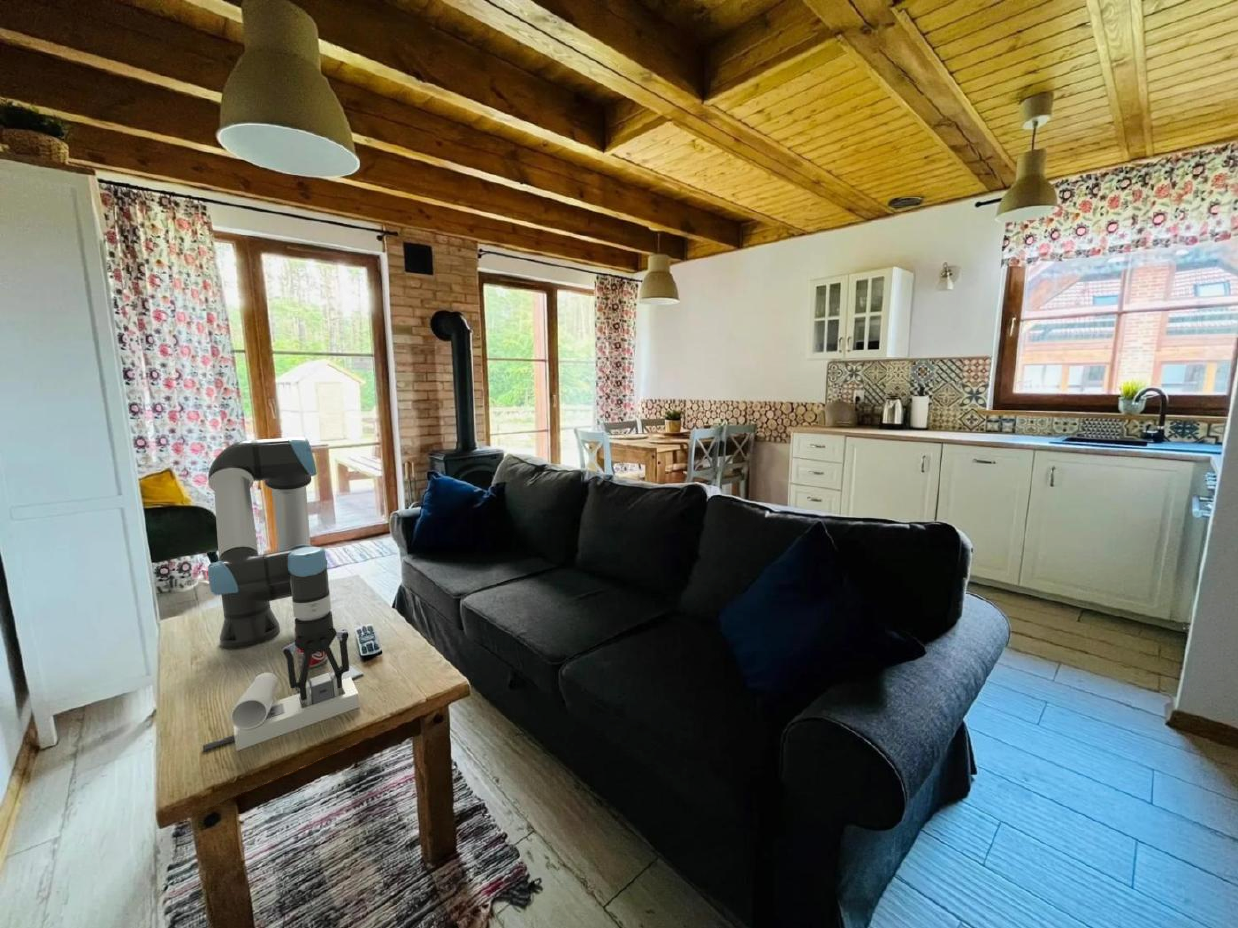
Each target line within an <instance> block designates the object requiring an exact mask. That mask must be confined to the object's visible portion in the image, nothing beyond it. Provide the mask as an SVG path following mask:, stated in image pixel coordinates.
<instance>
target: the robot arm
mask: <svg viewBox="0 0 1238 928" xmlns="http://www.w3.org/2000/svg"><path fill="white" fill-rule="evenodd" d="M317 473H318V471H317V467H316V462H315V458H314V455H313V450H312V448H311V444H310V441H309V440H308V439H307V438H306V437H303V436H302V437H292V436H289V437H279V438H277V437H276V438H265V439H263V438H262V439H245V440H241V441H236V442H234V443H233V444H231V445H229V446H228V447H226V448H224V449H223V450H222V451H221V452H220V453H219V454H218V455H216V457H215V459H214V460H213V461H212V463H211V465H210V467H209V470H208V476H207V477H208V478H207V479H208V486H209V488H210V489H211V490H212V491H213V492H214V506H215V507H214V509H215V521H216V537H217V547H218V548H217V551H218V560H217V561H216V562H211V563H209V565H208V567H207V568H208V569H207V573H208V575H207V576H208V577H207V578H208V584H209V589H210V592H211V594H213V595H216V596H219V595H220V597H221V602H222V603H221V604H222V610H223V611H222V612H223V618H224V619H223V622H222V623H223V624H222V627H221V630H220V631H221V632H220V635H219V644H220V647H221V648H224V649H229V650H236V649H237V650H238V649H245V648H249V647H254V646H258V645H259V644H263V643H266V642H267V641H269V640H270V641H271V640H272V639H273V638H275V637H276V636H278V634H280V632H281V629H280V623H279V621H278V619H277V617H276V616H275V614H274V612H273V610H272V609H271V608H272V607H271V602H272V601H277V600H281V599H288V598H291V599H292V609H293V617H294V618H295V619H294V629H295V628H296V638H295V637H294V641H293V642H291V643H290V644H289V645H283V646H282V648H281V649H282V653H283V655H284V656H285V658H286V664H287V667H286V668H287V674H288V682H289V687H290V689H292V690H293V689H296V688H299V689H300V697H301V700H302V701H303V700H307V707H308V706H311V705H312V702H311V693H310V686H309V683H308V682H309V681H307V680H308V676H309V670H310V668H309V666H310V660H311V657H312V654H315V653H317V652H323V651H325V653H326V655H327V657H328V658H327V660H328V662H329V664H330V666H331V668H332V670H333V672H334V674H331V679H332V682H333V691H334V698H335V697H338V689H339V688H342V674H343V673H344V672H348V671H349V665H350V663H349V661H350V660H349V652H348V643H347V642H348V640H349V636H350V635H349V633H348V632H349V631H347V629H345V628H344V629H342V630H336V628H335V627H334V620H333V619H334V618H333V612H332V601H331V593H330V592H331V591H330V587H329V574H328V573H329V571H328V560H327V555H326V551H325V549H323V548H322V547H320V546H319V547H318V546H313V545H311V536H310V520H309V510H308V497H307V495H308V494H307V486H309V485H310V484H311V482H312V477H315V476H316V475H317ZM260 481H264V485H265V486H266V488H268V489H270V490H271V493H272V502H273V503H272V504H273V513H274V523H275V531H276V541H277V550H278V551H275V552H268V553H263V554H259V551H258V549H259V548H258V540H257V533H256V532H257V531H256V526H255V517H254V508H253V501H252V492H251V488H252V487H253V485H254V483H255V482H260ZM335 638H337V641H339V642H338V643H339V651H340V658H341V666H339V665H338V662H337V661H336V658H335V656H334V654H333V651H332V649H331V647H330V646H331V645H332V643H333V641H334V640H335ZM297 647H298V648H299V649H301V650H302V651H303V660H302V666H300V672H299V676H298V679H297V678H296V670H295V669H296V668H295V659H294V656H293V655H294V654H295V652H296V649H297Z"/></svg>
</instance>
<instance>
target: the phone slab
mask: <svg viewBox="0 0 1238 928" xmlns="http://www.w3.org/2000/svg"><path fill="white" fill-rule="evenodd" d="M329 673H330V676H331V674H334V671H332V672H329ZM363 676H364V672H363V671H361V670H360V669H359V668H358V667H357V666H355V664H353V663H352V664H349V671H348V672H344V673H343V674H342V680H343V679H346V678H349V677H351V678H352V681H353V680H355V679H358V678H361V677H363ZM307 682H308V683H309V686H310V681H307ZM295 690H296V691H297V692H298V694H299V693H300V689H299V688H295ZM310 690H311V689H310Z"/></svg>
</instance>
